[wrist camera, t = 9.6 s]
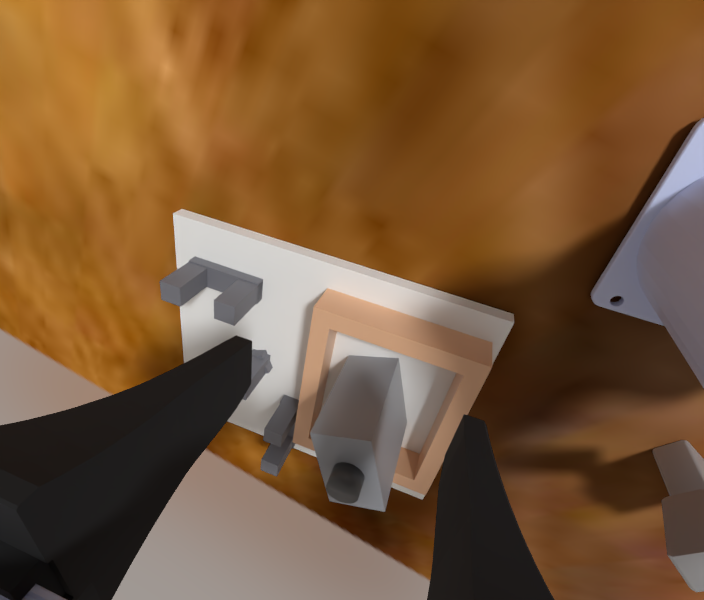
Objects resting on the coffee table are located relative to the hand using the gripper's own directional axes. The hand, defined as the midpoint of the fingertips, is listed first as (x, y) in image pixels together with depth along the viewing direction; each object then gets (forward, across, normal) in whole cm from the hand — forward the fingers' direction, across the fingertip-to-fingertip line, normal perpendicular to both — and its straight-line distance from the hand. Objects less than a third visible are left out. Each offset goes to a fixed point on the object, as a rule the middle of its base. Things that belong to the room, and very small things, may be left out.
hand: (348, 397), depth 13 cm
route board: (+9, +4, +8) cm, 13 cm away
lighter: (+10, -16, +6) cm, 20 cm away
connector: (+8, 0, +8) cm, 12 cm away
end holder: (+8, -1, +7) cm, 11 cm away
